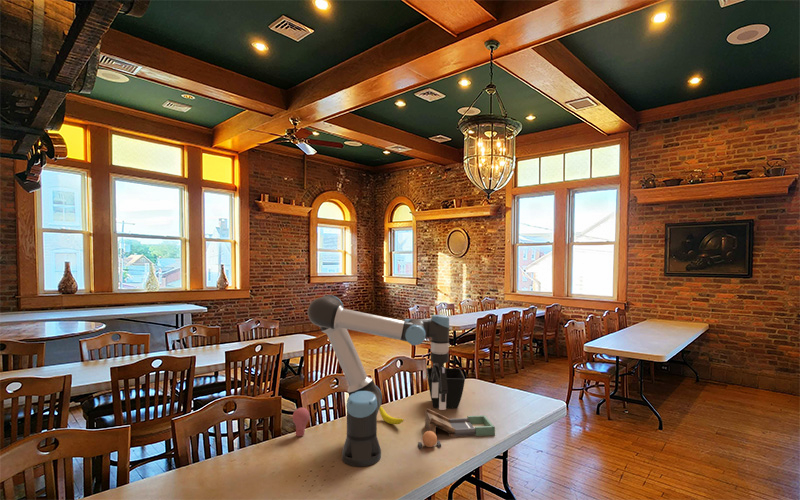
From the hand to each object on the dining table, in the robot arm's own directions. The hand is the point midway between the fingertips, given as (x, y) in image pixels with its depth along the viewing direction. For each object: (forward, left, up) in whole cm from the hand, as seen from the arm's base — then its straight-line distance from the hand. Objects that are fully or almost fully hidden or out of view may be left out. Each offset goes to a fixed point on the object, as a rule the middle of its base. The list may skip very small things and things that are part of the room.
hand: (438, 403), depth 162 cm
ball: (-4, -2, -14) cm, 14 cm away
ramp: (+3, +12, -17) cm, 21 cm away
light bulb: (-58, +13, -17) cm, 62 cm away
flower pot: (+13, +44, -17) cm, 49 cm away
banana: (-18, +22, -17) cm, 33 cm away
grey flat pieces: (-4, -2, -17) cm, 17 cm away
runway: (+13, +12, -17) cm, 25 cm away
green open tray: (+22, +12, -17) cm, 30 cm away
